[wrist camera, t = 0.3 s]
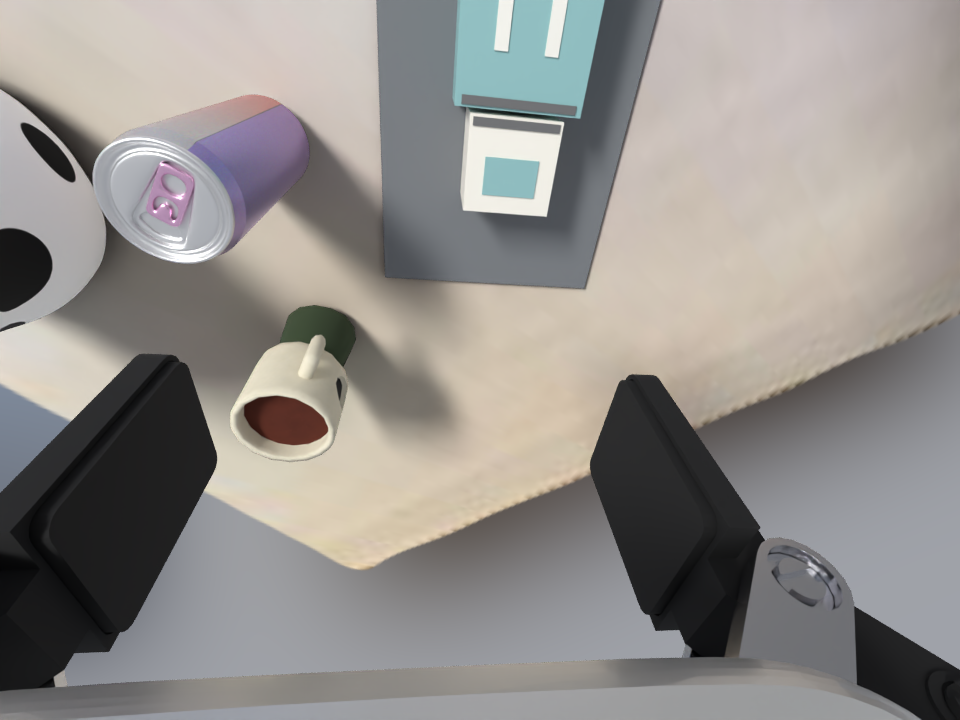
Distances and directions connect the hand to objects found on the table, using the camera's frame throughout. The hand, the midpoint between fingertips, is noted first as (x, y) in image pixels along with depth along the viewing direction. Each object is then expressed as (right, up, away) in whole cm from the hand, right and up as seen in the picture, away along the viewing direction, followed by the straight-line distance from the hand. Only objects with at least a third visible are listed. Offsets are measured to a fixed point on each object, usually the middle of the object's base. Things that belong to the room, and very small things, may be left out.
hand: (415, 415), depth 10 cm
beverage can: (-14, +17, +22) cm, 31 cm away
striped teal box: (+4, +24, +18) cm, 30 cm away
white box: (+3, +17, +23) cm, 28 cm away
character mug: (-13, +4, +31) cm, 34 cm away
